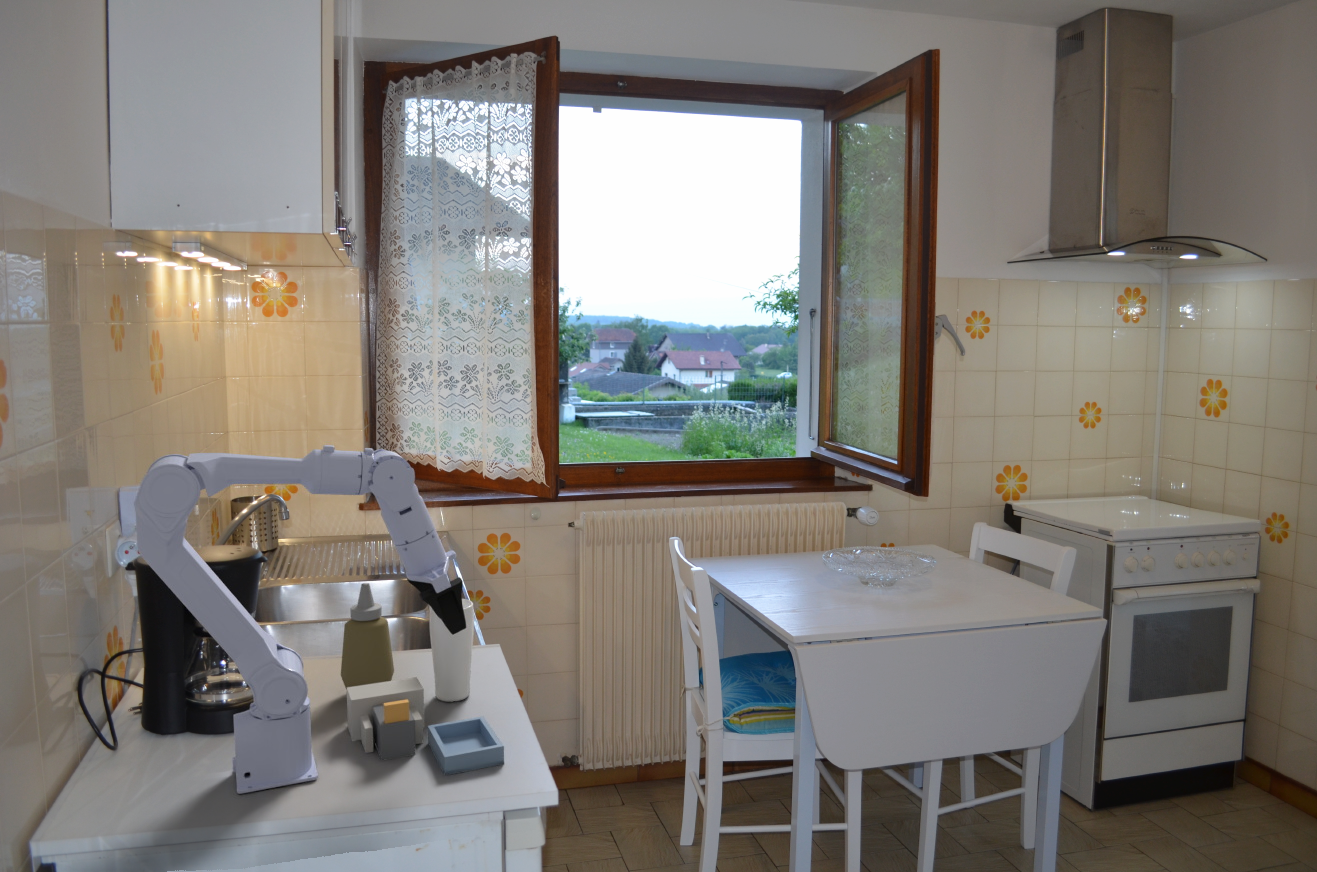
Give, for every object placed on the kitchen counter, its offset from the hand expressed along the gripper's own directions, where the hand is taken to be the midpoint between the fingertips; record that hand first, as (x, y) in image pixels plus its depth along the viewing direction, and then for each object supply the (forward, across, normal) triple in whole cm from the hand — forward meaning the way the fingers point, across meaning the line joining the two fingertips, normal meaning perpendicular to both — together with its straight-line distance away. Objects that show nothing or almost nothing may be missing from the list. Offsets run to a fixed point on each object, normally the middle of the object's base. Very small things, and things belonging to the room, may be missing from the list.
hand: (452, 622), depth 128 cm
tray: (+17, -3, +6) cm, 18 cm away
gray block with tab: (+14, +3, +14) cm, 19 cm away
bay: (+13, +7, +14) cm, 20 cm away
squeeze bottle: (+13, +23, +14) cm, 30 cm away
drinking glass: (+18, +17, +3) cm, 25 cm away
